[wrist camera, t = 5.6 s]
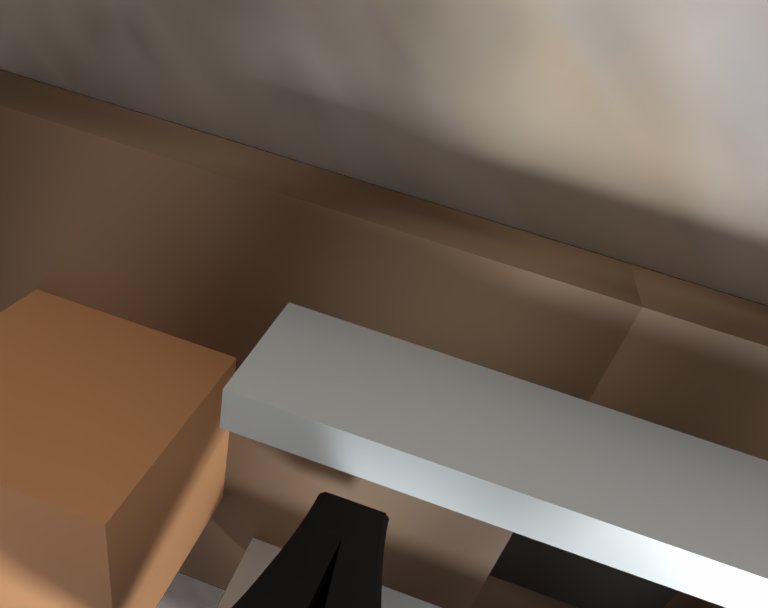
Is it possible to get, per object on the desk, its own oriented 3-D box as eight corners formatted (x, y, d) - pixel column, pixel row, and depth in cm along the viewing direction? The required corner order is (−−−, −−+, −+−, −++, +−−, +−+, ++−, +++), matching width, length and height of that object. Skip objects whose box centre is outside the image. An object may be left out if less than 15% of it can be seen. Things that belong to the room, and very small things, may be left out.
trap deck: (1018, 384, 9) (1092, 448, 8) (665, 698, 16) (674, 761, 15) (-8, 66, 11) (-79, 80, 10) (54, 471, 17) (16, 510, 16)
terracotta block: (222, 497, 14) (117, 671, 10) (57, 436, 14) (-97, 585, 11) (236, 357, 11) (105, 525, 8) (36, 289, 12) (-171, 420, 8)
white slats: (982, 531, 9) (1110, 699, 7) (717, 730, 14) (748, 870, 11) (288, 301, 10) (222, 388, 8) (249, 555, 15) (200, 654, 12)
